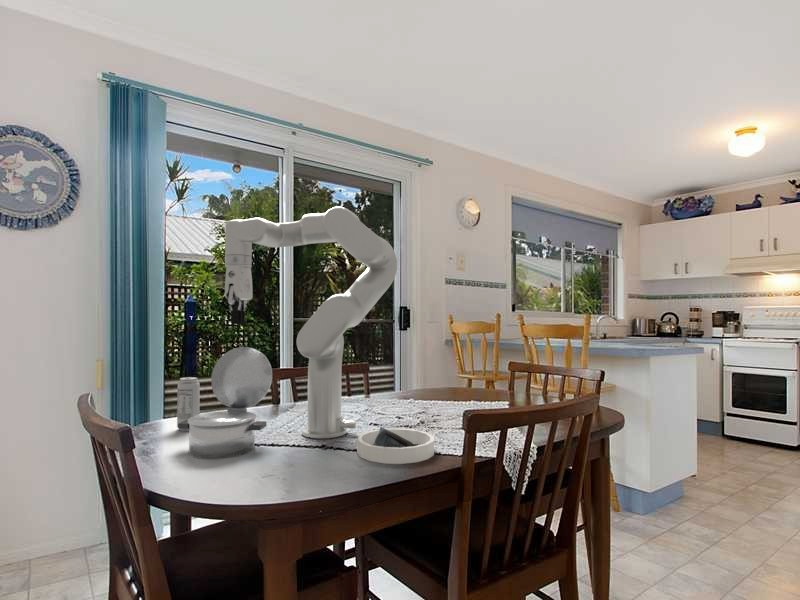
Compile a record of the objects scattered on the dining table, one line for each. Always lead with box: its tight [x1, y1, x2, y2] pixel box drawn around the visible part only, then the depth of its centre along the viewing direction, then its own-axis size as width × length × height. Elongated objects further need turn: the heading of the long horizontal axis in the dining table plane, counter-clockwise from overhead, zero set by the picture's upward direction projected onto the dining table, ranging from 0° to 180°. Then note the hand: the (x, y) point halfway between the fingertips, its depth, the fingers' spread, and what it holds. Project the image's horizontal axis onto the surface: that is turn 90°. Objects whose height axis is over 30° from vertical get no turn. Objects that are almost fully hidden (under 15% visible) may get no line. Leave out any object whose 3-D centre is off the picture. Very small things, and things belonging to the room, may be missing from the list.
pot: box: [177, 410, 267, 460], centre depth 127 cm, size 21×18×8 cm
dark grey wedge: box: [374, 427, 417, 448], centre depth 122 cm, size 10×7×12 cm
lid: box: [210, 346, 273, 412], centre depth 139 cm, size 17×18×4 cm
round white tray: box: [356, 427, 435, 465], centre depth 124 cm, size 19×19×4 cm
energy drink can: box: [176, 376, 201, 432], centre depth 147 cm, size 6×6×15 cm
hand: (237, 323), depth 148 cm, fingers closed
